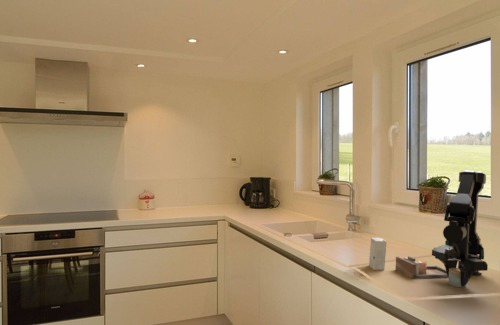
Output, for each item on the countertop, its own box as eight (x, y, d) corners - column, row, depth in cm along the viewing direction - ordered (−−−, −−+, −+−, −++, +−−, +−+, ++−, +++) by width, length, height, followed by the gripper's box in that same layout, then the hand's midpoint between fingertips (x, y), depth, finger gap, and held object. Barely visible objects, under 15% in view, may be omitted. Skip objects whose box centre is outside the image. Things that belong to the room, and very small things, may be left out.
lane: (436, 270, 139) (436, 255, 139) (455, 279, 129) (456, 263, 129) (395, 272, 136) (396, 256, 135) (412, 281, 126) (413, 264, 126)
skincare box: (368, 267, 140) (369, 237, 140) (379, 268, 140) (380, 237, 140) (373, 272, 134) (375, 240, 134) (385, 273, 134) (386, 241, 134)
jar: (420, 271, 135) (420, 259, 135) (429, 275, 130) (429, 263, 130) (408, 271, 134) (409, 259, 134) (417, 275, 129) (417, 263, 129)
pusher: (405, 270, 135) (406, 254, 135) (418, 276, 128) (419, 260, 128) (403, 270, 135) (404, 254, 135) (416, 276, 128) (416, 260, 127)
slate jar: (457, 284, 124) (457, 267, 124) (468, 289, 119) (469, 272, 119) (444, 284, 123) (445, 267, 123) (455, 290, 118) (456, 272, 118)
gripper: (419, 232, 129) (417, 275, 129) (460, 245, 110) (457, 294, 110) (446, 232, 131) (444, 274, 131) (490, 244, 113) (487, 293, 113)
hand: (456, 283), depth 121 cm, fingers closed on slate jar, 5 cm apart
